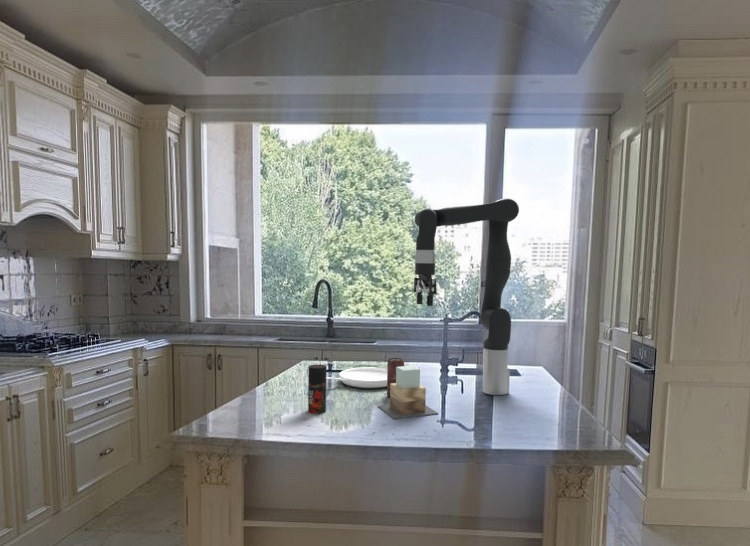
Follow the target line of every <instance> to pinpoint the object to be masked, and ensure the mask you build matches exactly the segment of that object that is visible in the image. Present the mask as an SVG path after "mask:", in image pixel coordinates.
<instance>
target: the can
mask: <svg viewBox="0 0 750 546" xmlns="http://www.w3.org/2000/svg"><path fill="white" fill-rule="evenodd" d="M386 365H387V368H386V369H387V387H386V395H387V398H389V399H390V384H391V383H396V367H401V366H405V361H404V359H403V358H398V357H392V358H388V360H387V363H386Z"/></svg>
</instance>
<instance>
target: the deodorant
mask: <svg viewBox="0 0 750 546" xmlns="http://www.w3.org/2000/svg"><path fill="white" fill-rule="evenodd" d="M326 377H327V365H324V364H310V365H308V380H307V382H308V387H307V388H308V389H307V391H308V392H307V393H308V394H307V400H308V402H307V413H308V414H313V415H316V414H317V415H319V414H324V413H326V412H327V379H326Z"/></svg>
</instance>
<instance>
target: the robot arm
mask: <svg viewBox="0 0 750 546" xmlns="http://www.w3.org/2000/svg"><path fill="white" fill-rule="evenodd" d="M519 213H520V207H519V204H518V203H517V201H516V200H515V199H512V198H507V197H506V198H501V199H498V200H495V201H493V202H488V203H483V204H482V203H481V204H475V205H474V204H473V205H472V204H470V205H459V206H458V205H457V206H449V207H443V208H439V209H431V208H424V209H422V210H419V211H418V212H417V213H416V214H415V216H414V223H415V225H416V226H417V227H418V234H417V236H416V239H415V247H416V248H415V256H414V274H415V275H416V276H414V278H413V293H415V295H416V305H423V298H424V295H423V293H424V292H425V293H426V306H427V307H433V305H434V296H435V295H437V278H435V277H432V276H435V274H436V253H435V246H436V244H435V243H436V241H435V239H436V238H435V237H436V233H437V227H443V226H445V227H448V226H450V227H451V226H461V225H465V224H471V223H476V222H477V223H478V222H483V221H488V244H487V245H488V246H487V253H486V266H485V280H484V281H485V282H484V293H483V299H482V306H481V310H480V311H481V312H480V322H481V324H482V326H483V327H484V328H485V329H487V330H488V333H487V334H488V336H487V338H486V339H484V341H483V349H482V350H483V352H482V353H483V354H482V355H483V356H482V357H483V359H482V361H483V362H482V392H483V394H487V395H490V396H491V395H492V396H505V395H507V394H510V378H511V377H510V376H511V375H510V372H511V371H510V370H511V369H510V368H509V367H508V362H509V361H508V357H509V356H508V353H509V351H508V350H509V349H508V348H509V344H510V341H511V332H512V331H511V330H512V317H511V314H510V313H509V311H508V309H506V308H502V307H501V305H502V295H503V292H504V288H505V287H506V285H507V283H508V280H509V278H510V275H511V267H512V254H511V249H510V245H509V242H508V226H509V222H512V221H513V220H516V218H517V217H518V215H519Z"/></svg>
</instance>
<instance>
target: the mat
mask: <svg viewBox="0 0 750 546" xmlns="http://www.w3.org/2000/svg"><path fill="white" fill-rule="evenodd" d="M377 408H379V409H380V410H381V411H383V412H384V413H385V414H386V415H388V416H389V417H390V418H392V419H393V420H399V419H401V420H402V419H406V418H407V419H408V418H416V417H417V418H418V417H424V416H425V417H426V416H434V415H439V412H437V411H435V410H434V409H432V408H431V407H429V406H427V405H426V404H425V412H420V413H410V414H401V415H400V414H399V413H398V412H396V411H395V410H394V409H392V408H391V407H390V404H382V405H377Z"/></svg>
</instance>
